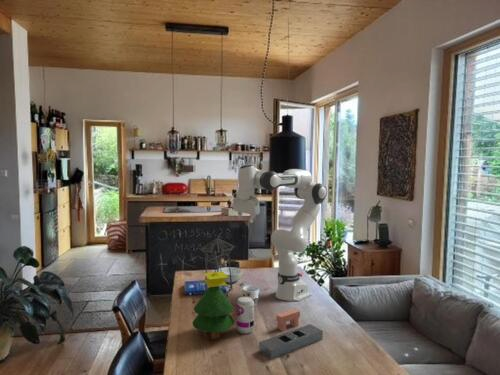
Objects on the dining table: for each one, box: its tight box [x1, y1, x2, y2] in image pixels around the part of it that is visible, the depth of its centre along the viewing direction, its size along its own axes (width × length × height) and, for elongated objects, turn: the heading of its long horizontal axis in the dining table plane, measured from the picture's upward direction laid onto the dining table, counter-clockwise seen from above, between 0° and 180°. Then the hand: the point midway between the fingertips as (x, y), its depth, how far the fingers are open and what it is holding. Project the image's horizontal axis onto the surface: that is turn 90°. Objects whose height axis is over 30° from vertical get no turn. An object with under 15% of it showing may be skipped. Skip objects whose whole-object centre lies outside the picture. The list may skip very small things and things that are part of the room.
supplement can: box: [236, 296, 255, 334], centre depth 174 cm, size 8×8×15 cm
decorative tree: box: [191, 271, 235, 340], centre depth 168 cm, size 19×19×30 cm
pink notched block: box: [275, 308, 301, 332], centre depth 178 cm, size 12×4×7 cm, turn 125°
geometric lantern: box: [200, 237, 235, 298], centre depth 214 cm, size 16×16×35 cm
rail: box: [258, 323, 324, 360], centre depth 161 cm, size 30×8×4 cm, turn 125°
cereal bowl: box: [219, 266, 243, 284], centre depth 244 cm, size 17×17×7 cm
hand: (245, 221), depth 196 cm, fingers open, 8 cm apart
